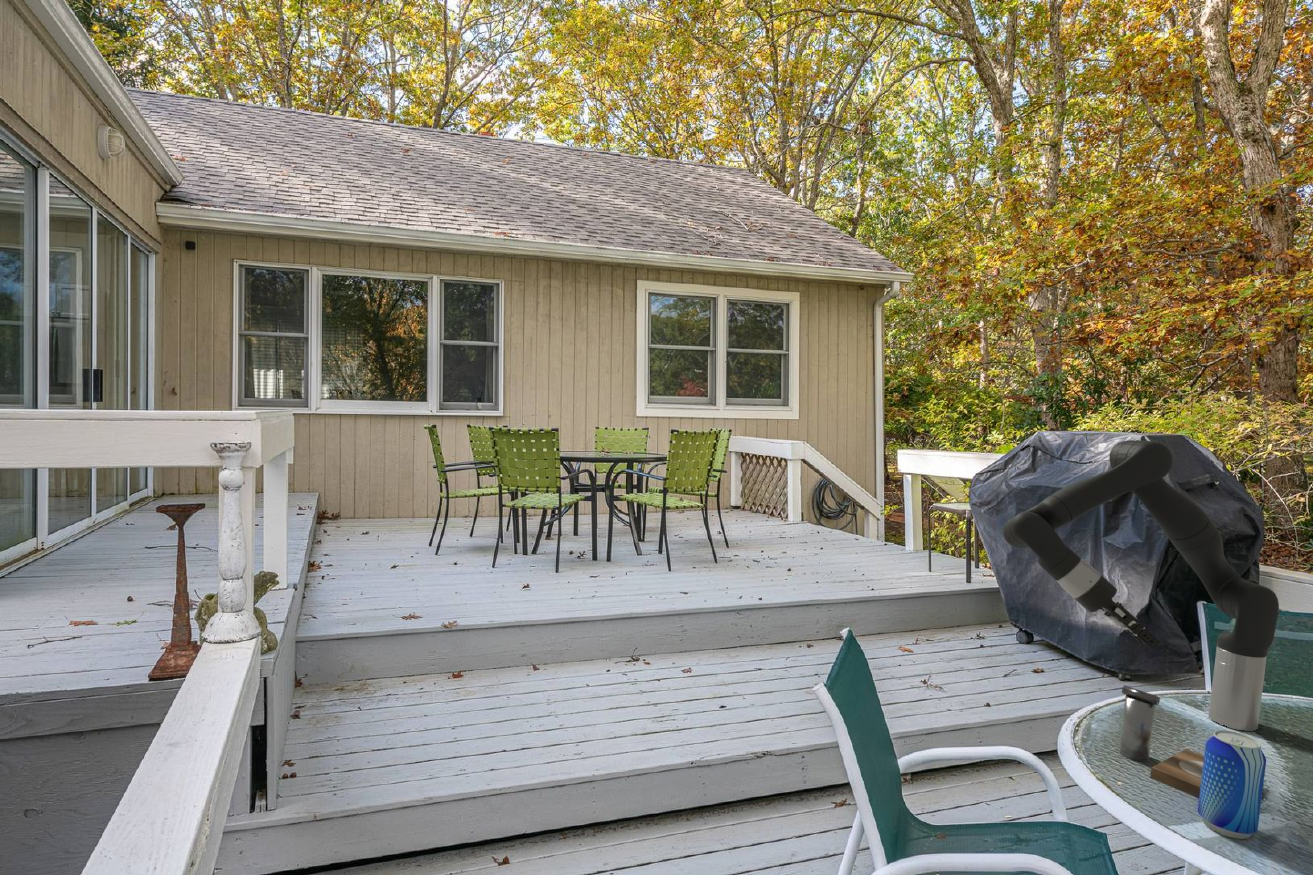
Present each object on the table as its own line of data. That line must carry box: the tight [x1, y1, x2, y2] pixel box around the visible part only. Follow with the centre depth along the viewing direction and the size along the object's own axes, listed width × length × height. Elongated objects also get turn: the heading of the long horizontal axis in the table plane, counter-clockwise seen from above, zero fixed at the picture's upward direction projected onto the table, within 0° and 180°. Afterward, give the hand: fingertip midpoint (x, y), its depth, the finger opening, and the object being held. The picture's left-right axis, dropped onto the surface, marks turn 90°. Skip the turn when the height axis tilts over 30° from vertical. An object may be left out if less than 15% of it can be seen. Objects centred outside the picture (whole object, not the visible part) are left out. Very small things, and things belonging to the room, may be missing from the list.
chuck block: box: [1149, 748, 1204, 799], centre depth 150 cm, size 16×12×2 cm
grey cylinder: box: [1118, 684, 1161, 763], centre depth 159 cm, size 5×6×14 cm
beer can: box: [1197, 729, 1267, 840], centre depth 133 cm, size 8×8×16 cm
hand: (1150, 642), depth 161 cm, fingers open, 8 cm apart
